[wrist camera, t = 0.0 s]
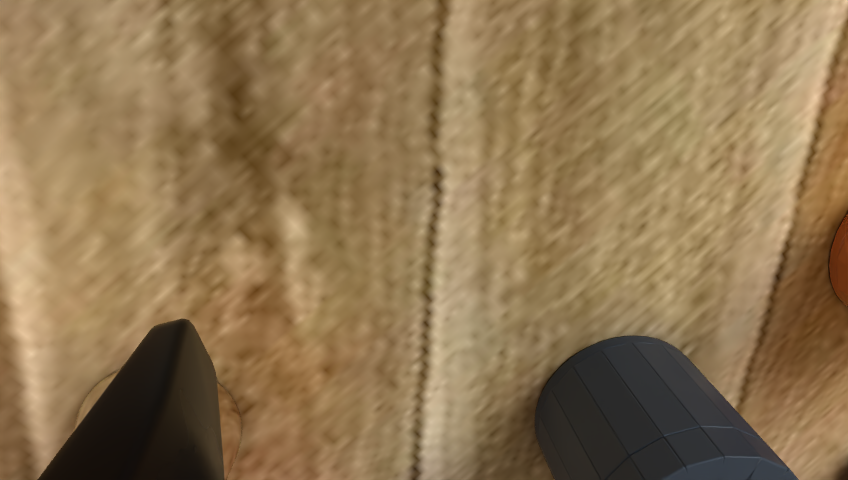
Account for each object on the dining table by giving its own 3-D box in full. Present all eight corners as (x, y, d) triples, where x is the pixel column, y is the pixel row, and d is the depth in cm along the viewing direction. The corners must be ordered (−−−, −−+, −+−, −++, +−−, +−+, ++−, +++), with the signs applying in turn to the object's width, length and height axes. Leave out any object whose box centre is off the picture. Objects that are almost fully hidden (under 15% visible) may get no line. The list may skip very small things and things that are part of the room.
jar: (635, 495, 32) (722, 643, 25) (501, 447, 30) (558, 596, 23) (730, 371, 30) (854, 496, 23) (595, 308, 28) (688, 427, 21)
